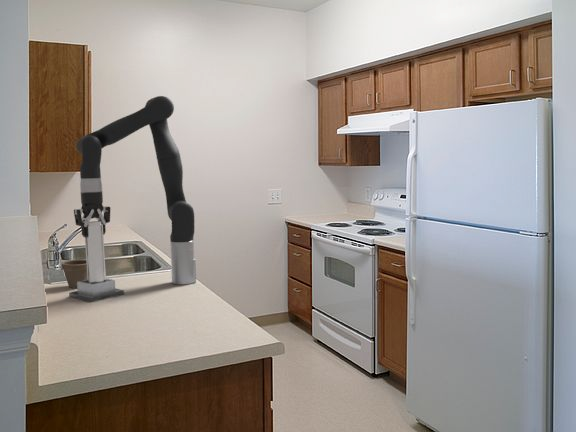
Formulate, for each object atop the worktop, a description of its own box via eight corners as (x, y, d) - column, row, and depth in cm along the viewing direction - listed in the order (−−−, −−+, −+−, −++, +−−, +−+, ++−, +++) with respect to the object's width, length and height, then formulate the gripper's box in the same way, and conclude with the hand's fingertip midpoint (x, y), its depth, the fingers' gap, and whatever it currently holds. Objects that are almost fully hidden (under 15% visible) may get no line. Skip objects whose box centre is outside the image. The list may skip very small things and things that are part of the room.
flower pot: (99, 284, 220) (98, 259, 219) (80, 290, 209) (79, 265, 208) (75, 282, 224) (74, 258, 223) (56, 289, 213) (55, 263, 212)
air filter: (106, 288, 199) (102, 221, 196) (87, 290, 197) (83, 222, 194) (106, 285, 205) (102, 220, 203) (88, 286, 203) (84, 221, 201)
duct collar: (102, 289, 211) (101, 275, 210) (124, 294, 203) (123, 279, 202) (69, 296, 200) (68, 282, 199) (90, 302, 191) (90, 286, 191)
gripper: (102, 189, 205) (105, 232, 207) (67, 191, 194) (70, 237, 196) (114, 189, 201) (116, 234, 202) (79, 192, 189) (82, 239, 191)
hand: (94, 235), depth 199 cm, fingers closed on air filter, 6 cm apart
